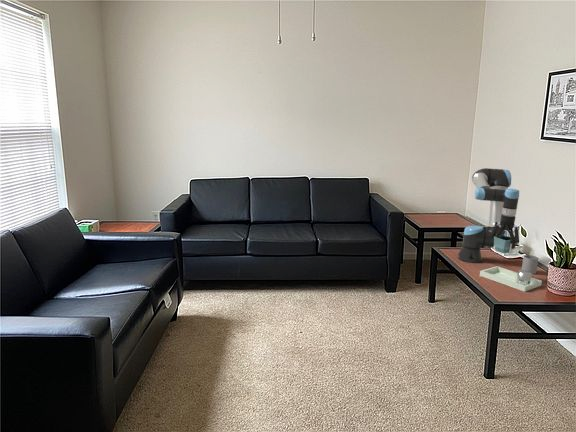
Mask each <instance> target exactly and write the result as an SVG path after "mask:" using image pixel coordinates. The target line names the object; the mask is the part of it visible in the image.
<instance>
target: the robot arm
mask: <svg viewBox="0 0 576 432" xmlns="http://www.w3.org/2000/svg"><path fill="white" fill-rule="evenodd" d="M471 180H472V183H473V184H474V186H475V187H476V188H475V191H474V198H475V200H477V201H478V200H479V201H489V202H490V203H489V204H490V205H489V216H488V224H487V226H486V227H485V228H484V227H483V226H481V225H468V226H466V227H465V228H464V231H463V238H462V245H461V248H460V251H459V252H458V254H457V258H458V260H460V261H462V262H466V263H472V264H478V263H481V262H482V260H483V257H482V252H481V249H482V248H481V247H486V248H488V247H489V248H493V251H496V249H495V246H494V237H497V236H507V237H510V238H511V241H512V243H510V249H509V253H508V255H512V254H513V253H514V249H515V248H516V244H519V243H520V233H519V230H520V226H519V225H518V226H516V225H515V222H516V216H517V211H518V210H517V209H518V205H519V199H520V190H519V189H516V188H510V187H511V185H512V174H511V171H510V170H509V169H503V168H501V169H500V168H489V167H486V168H481V169H478V170H476V171H475V172H474V173H473V174H472V176H471ZM508 234H509V236H508Z"/></svg>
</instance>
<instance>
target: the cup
mask: <svg viewBox="0 0 576 432" xmlns="http://www.w3.org/2000/svg"><path fill="white" fill-rule="evenodd" d="M538 264H539V257H538V256H535V255H532V254H531V255H530V254H524V255H523V258H522V265H521V269H520V270H526V271H529V272H531V273H532V275H536V274H537V270H538Z"/></svg>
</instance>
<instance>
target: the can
mask: <svg viewBox="0 0 576 432" xmlns="http://www.w3.org/2000/svg"><path fill="white" fill-rule="evenodd" d="M517 273H518V275H517V281H516V283H518V284H521V285H524V286H525V285H528V284H530V281H531V277H532V275H533V274H532V273H531V272H529V271H526V270H521V269H519V270H518V271H517Z"/></svg>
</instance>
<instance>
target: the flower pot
mask: <svg viewBox="0 0 576 432" xmlns="http://www.w3.org/2000/svg"><path fill="white" fill-rule="evenodd" d="M510 243H512V241H511V238H510V236H497V237H494V246H495V251H496V252H497V253H501V254H509V249H510Z"/></svg>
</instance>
